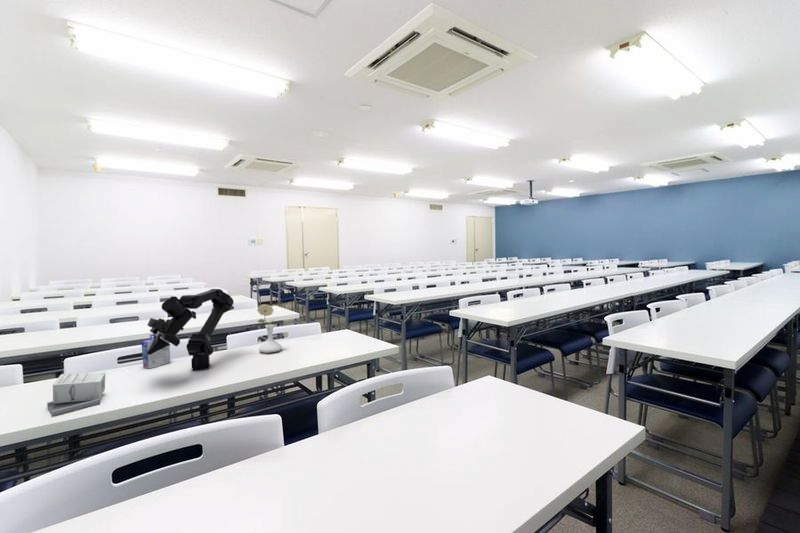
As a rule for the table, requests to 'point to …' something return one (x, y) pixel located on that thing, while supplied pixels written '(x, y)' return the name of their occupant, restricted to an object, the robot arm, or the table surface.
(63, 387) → the supplement box
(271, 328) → the flower in vase
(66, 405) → the tray
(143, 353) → the ink cartridge box
